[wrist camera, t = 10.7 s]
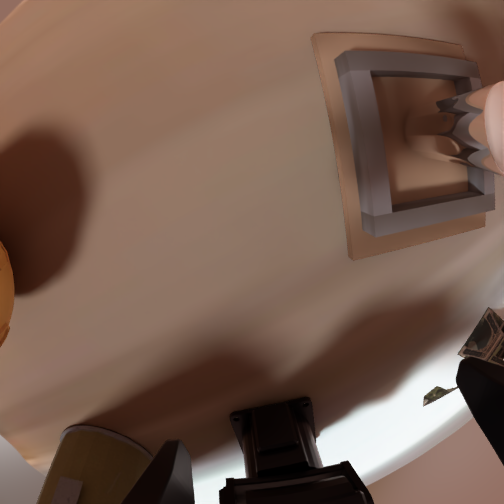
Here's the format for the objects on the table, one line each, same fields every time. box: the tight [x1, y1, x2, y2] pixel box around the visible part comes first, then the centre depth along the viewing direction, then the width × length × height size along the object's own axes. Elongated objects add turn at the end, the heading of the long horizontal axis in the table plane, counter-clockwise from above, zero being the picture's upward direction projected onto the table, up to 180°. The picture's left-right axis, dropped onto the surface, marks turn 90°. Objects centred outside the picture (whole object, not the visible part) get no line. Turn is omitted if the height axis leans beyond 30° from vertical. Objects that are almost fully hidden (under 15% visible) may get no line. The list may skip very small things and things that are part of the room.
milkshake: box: [404, 81, 504, 177], centre depth 12 cm, size 4×5×10 cm
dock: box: [311, 33, 495, 261], centre depth 16 cm, size 14×12×3 cm
